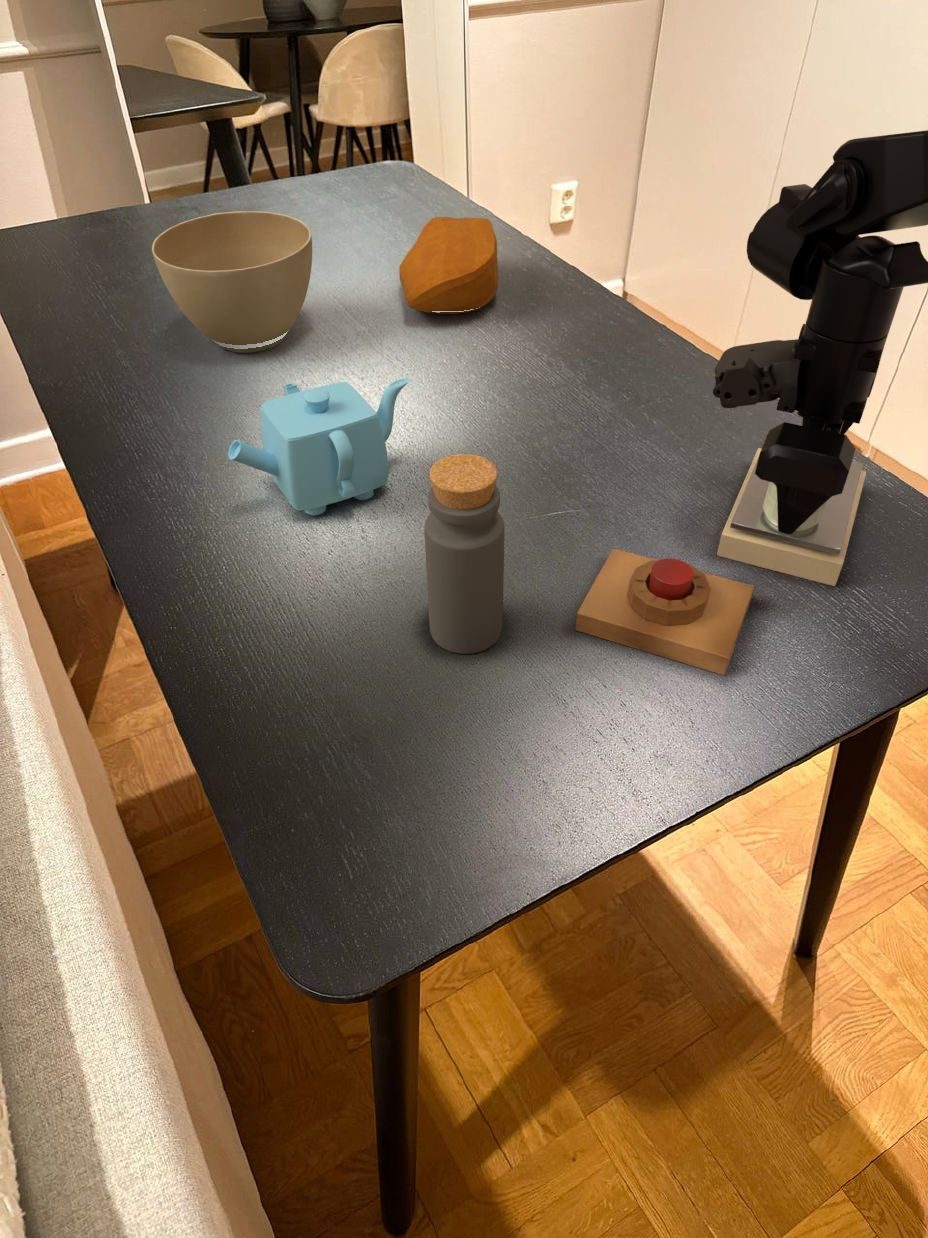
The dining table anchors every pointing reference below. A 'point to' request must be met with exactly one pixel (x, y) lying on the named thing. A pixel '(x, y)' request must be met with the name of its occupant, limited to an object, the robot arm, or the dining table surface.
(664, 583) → the tare button
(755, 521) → the pan
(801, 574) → the scale
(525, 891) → the dining table surface
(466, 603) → the bottle
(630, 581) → the block
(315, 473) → the teapot
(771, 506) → the mint green cup
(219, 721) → the dining table surface
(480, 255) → the bread
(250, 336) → the deep tan bowl
